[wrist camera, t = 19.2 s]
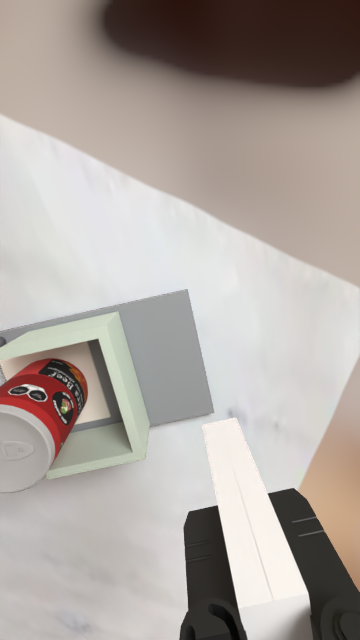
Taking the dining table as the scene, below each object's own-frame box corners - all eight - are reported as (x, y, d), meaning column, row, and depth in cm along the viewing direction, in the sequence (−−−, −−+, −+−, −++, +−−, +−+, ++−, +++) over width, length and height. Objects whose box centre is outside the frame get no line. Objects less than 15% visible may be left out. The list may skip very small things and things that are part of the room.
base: (40, 444, 36) (26, 465, 33) (-4, 331, 33) (-25, 342, 29) (212, 407, 36) (217, 425, 32) (187, 288, 32) (189, 294, 29)
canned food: (101, 403, 34) (68, 475, 23) (38, 426, 34) (-22, 507, 23) (72, 345, 32) (22, 393, 21) (6, 370, 32) (-75, 429, 22)
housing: (68, 441, 35) (47, 479, 29) (28, 331, 32) (-4, 350, 26) (149, 423, 35) (145, 459, 29) (118, 311, 31) (106, 325, 25)
